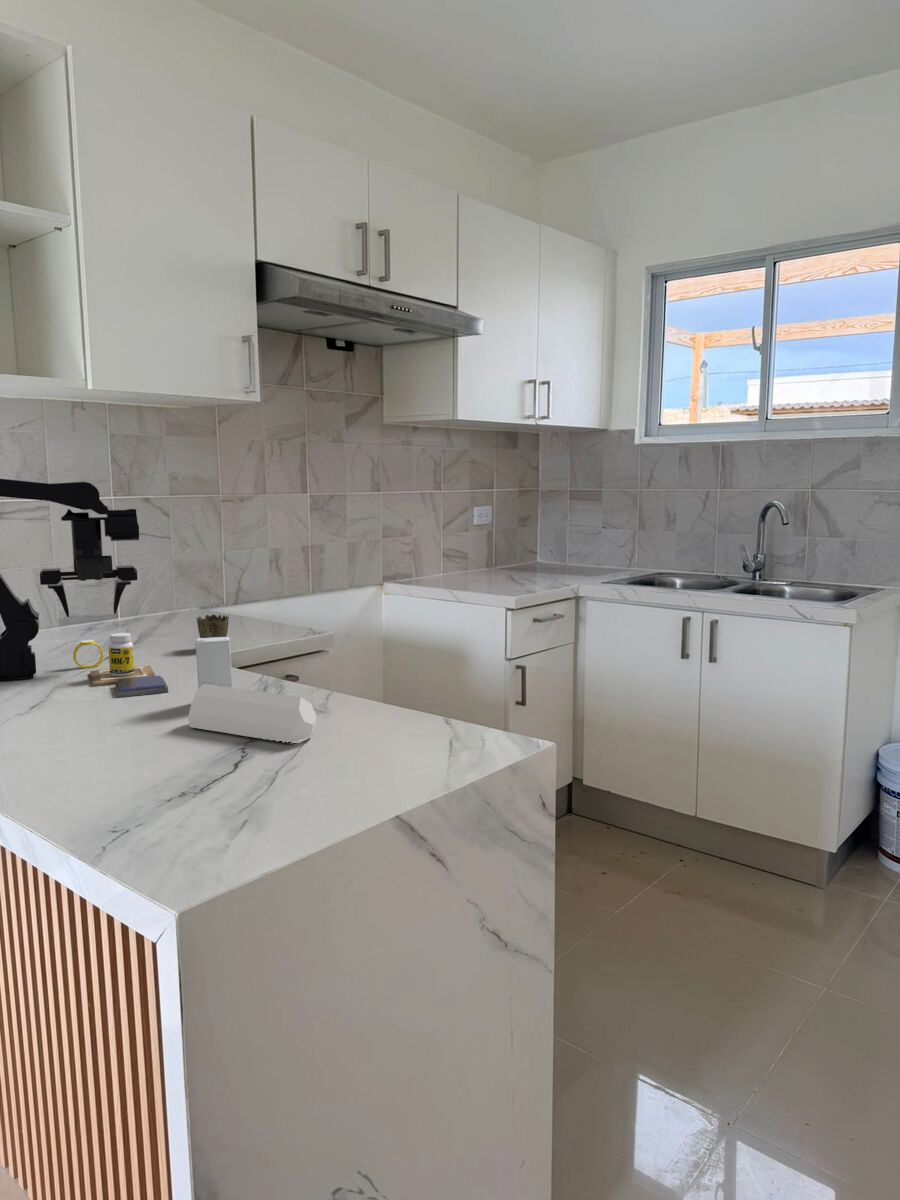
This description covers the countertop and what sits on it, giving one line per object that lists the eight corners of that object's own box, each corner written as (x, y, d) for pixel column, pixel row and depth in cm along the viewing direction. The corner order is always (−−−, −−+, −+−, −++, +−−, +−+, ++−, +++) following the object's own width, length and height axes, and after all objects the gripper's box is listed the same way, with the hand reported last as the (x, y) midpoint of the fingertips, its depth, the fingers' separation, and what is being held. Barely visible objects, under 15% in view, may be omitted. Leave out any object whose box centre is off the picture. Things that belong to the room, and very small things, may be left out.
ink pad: (118, 697, 157) (117, 689, 157) (115, 686, 165) (114, 679, 165) (168, 692, 161) (167, 684, 161) (162, 682, 169) (162, 674, 169)
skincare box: (233, 699, 156) (231, 635, 155) (233, 705, 152) (230, 640, 150) (199, 701, 155) (196, 637, 153) (198, 707, 150) (195, 641, 149)
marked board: (92, 686, 166) (92, 682, 165) (90, 673, 176) (90, 669, 176) (156, 680, 171) (156, 676, 170) (150, 668, 181) (150, 664, 181)
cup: (210, 653, 196) (209, 620, 195) (191, 650, 201) (190, 617, 200) (236, 648, 202) (235, 616, 201) (217, 645, 207) (215, 613, 205)
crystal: (170, 709, 136) (292, 727, 126) (195, 679, 141) (314, 695, 131) (187, 740, 140) (307, 761, 130) (211, 710, 145) (328, 728, 135)
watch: (76, 671, 180) (72, 644, 179) (74, 668, 182) (70, 642, 181) (105, 666, 183) (102, 639, 182) (103, 663, 185) (99, 637, 184)
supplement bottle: (108, 677, 170) (106, 637, 169) (111, 672, 175) (109, 632, 174) (133, 676, 172) (131, 635, 170) (135, 670, 176) (133, 631, 175)
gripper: (37, 546, 164) (42, 624, 166) (137, 543, 172) (141, 617, 174) (38, 542, 174) (43, 616, 176) (133, 539, 182) (137, 610, 184)
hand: (91, 615), depth 178 cm, fingers open, 9 cm apart
